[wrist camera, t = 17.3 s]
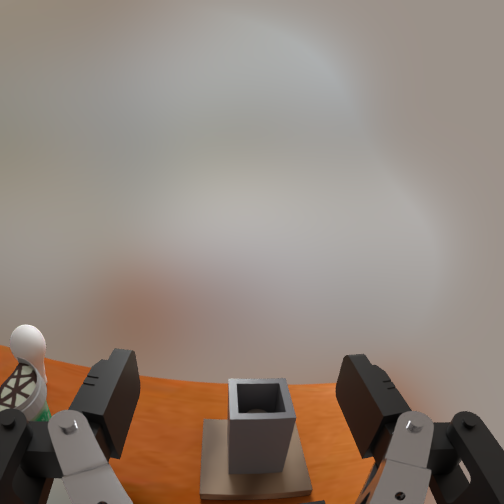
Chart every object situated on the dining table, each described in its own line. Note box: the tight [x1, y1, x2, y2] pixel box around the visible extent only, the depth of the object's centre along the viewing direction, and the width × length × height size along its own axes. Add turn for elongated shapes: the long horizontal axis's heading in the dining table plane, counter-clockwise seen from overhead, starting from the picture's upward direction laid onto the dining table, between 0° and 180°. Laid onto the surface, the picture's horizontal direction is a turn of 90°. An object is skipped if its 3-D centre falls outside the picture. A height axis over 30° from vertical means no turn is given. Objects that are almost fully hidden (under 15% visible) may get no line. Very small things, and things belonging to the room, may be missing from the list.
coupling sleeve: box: [227, 378, 296, 474], centre depth 29 cm, size 6×6×10 cm
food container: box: [0, 357, 52, 421], centre depth 25 cm, size 12×6×10 cm, turn 9°
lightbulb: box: [10, 325, 47, 384], centre depth 35 cm, size 6×6×11 cm
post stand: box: [200, 409, 313, 500], centre depth 29 cm, size 12×12×8 cm
